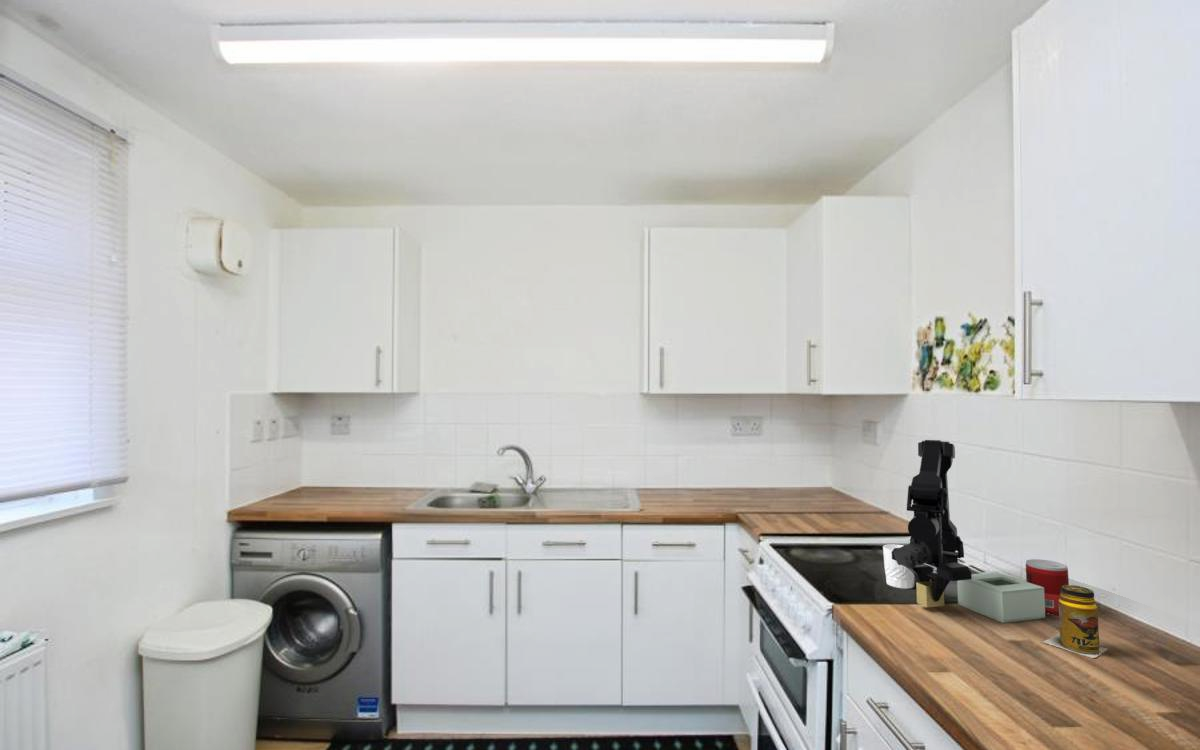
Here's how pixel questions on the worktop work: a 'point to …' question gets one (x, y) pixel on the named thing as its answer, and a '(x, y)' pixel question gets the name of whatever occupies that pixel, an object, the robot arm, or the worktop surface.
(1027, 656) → the worktop surface
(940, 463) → the robot arm
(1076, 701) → the worktop surface
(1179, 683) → the worktop surface
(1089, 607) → the condiment
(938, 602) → the yellow block
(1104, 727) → the worktop surface
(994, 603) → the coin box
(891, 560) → the white cup
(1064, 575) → the canned food
